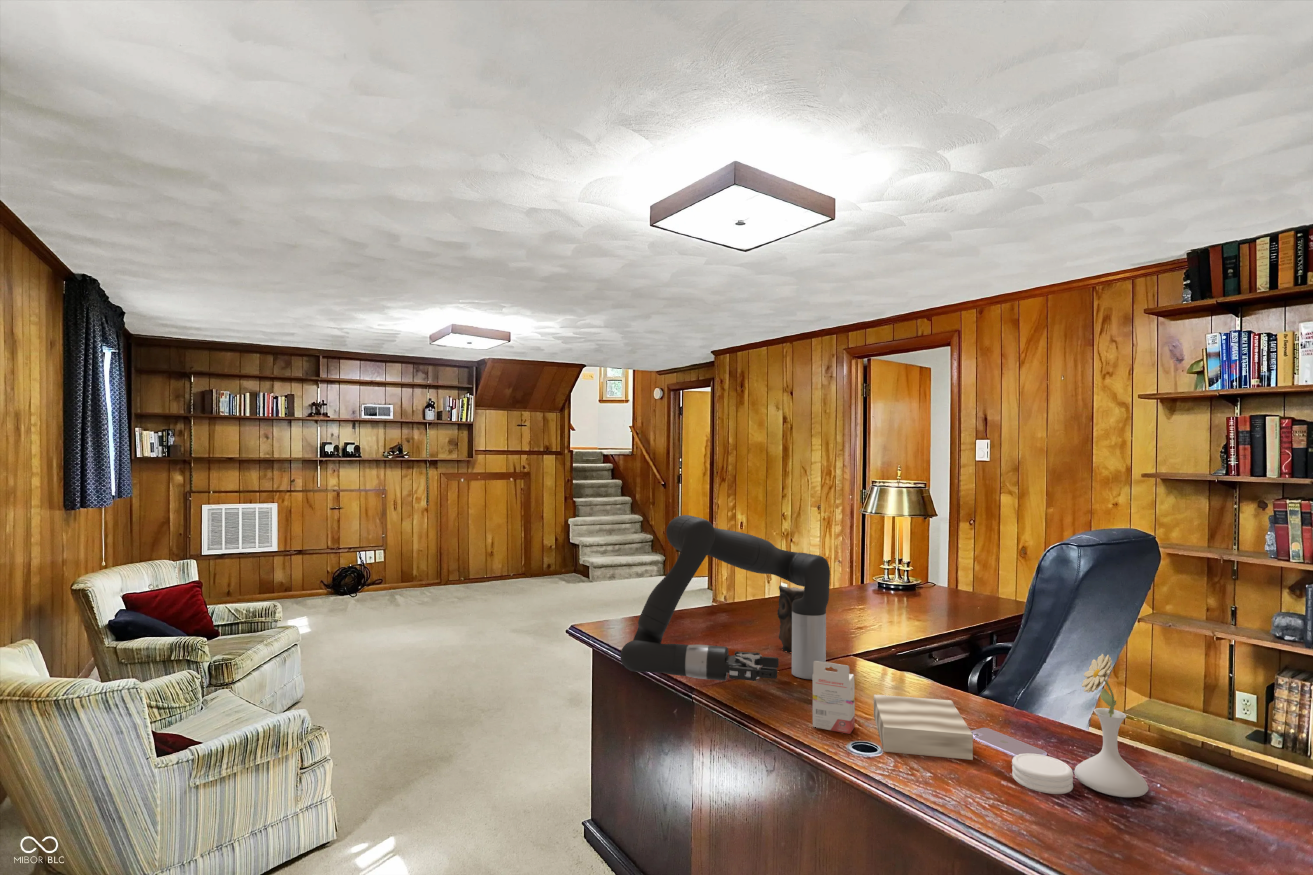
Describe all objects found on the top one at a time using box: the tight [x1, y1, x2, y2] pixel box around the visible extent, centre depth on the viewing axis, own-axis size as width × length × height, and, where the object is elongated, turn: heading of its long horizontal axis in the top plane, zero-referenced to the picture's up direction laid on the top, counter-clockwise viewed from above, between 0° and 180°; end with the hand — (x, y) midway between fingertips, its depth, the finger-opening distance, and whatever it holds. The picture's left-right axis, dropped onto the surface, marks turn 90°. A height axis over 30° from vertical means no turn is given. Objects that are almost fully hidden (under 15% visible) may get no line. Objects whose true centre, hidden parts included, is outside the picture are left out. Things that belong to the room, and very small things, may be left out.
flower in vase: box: [1073, 653, 1149, 798], centre depth 127 cm, size 13×11×25 cm
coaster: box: [1011, 753, 1074, 795], centre depth 129 cm, size 10×10×4 cm
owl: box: [776, 584, 804, 652], centre depth 215 cm, size 13×13×20 cm
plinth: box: [873, 694, 974, 761], centre depth 150 cm, size 20×17×5 cm
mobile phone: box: [970, 727, 1048, 757], centre depth 146 cm, size 8×1×15 cm
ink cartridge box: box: [811, 661, 856, 734], centre depth 155 cm, size 9×5×15 cm, turn 62°
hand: (777, 667), depth 157 cm, fingers open, 8 cm apart
